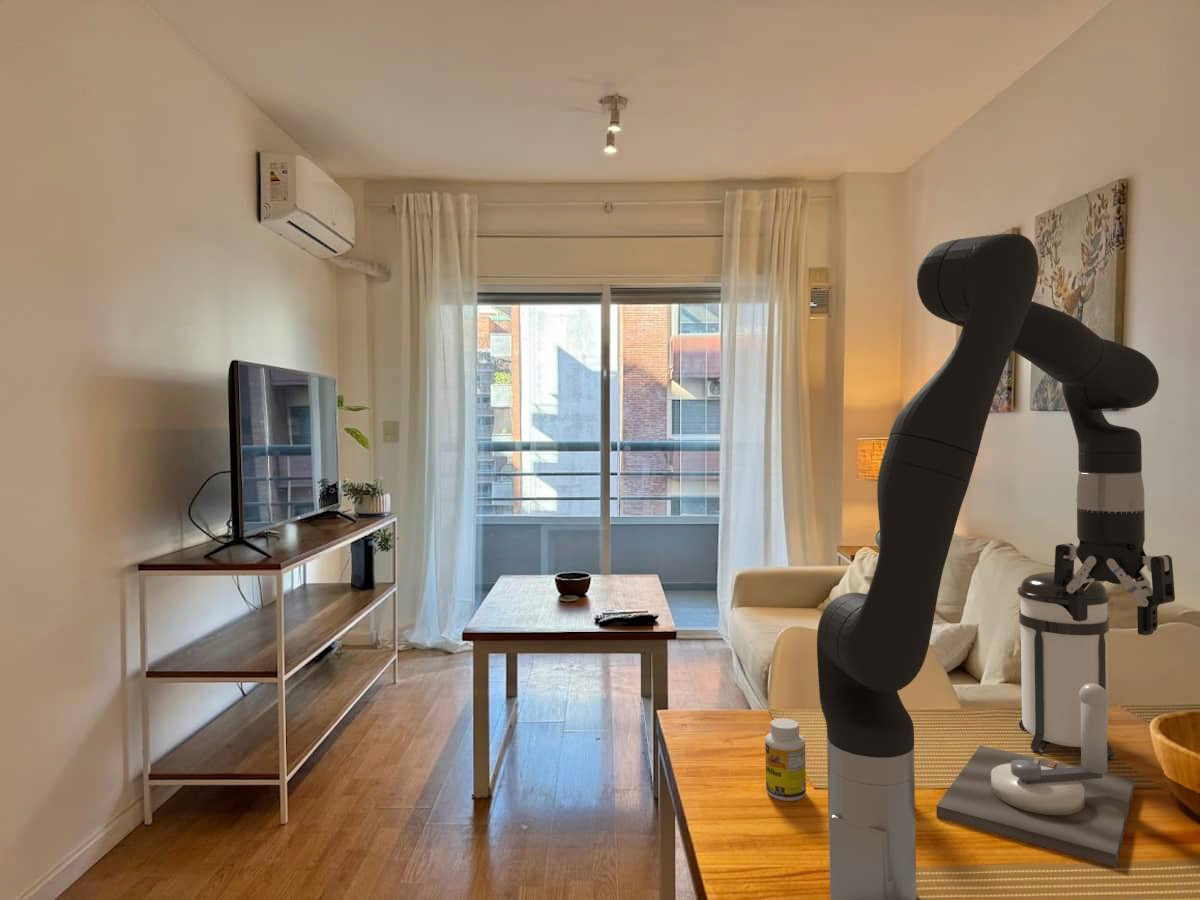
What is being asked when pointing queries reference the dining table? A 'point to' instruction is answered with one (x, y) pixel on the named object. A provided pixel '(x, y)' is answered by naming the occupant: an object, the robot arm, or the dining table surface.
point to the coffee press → (1059, 659)
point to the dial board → (1075, 834)
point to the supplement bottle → (785, 761)
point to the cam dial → (1061, 787)
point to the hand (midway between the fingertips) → (1111, 627)
